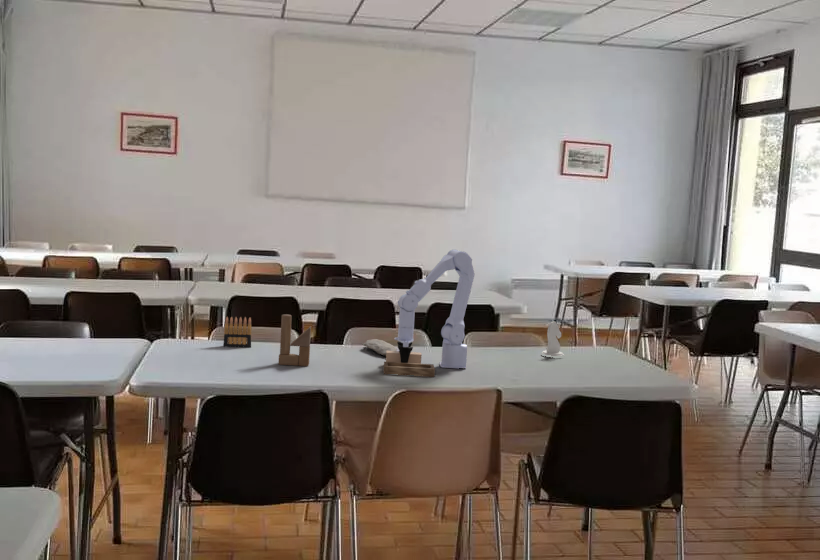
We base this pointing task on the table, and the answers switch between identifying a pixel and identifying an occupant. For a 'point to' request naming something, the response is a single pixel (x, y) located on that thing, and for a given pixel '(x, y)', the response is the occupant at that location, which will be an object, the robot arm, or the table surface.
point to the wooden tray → (409, 369)
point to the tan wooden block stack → (293, 344)
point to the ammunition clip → (237, 333)
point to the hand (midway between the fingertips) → (403, 362)
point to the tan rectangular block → (395, 357)
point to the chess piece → (553, 340)
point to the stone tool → (379, 346)
